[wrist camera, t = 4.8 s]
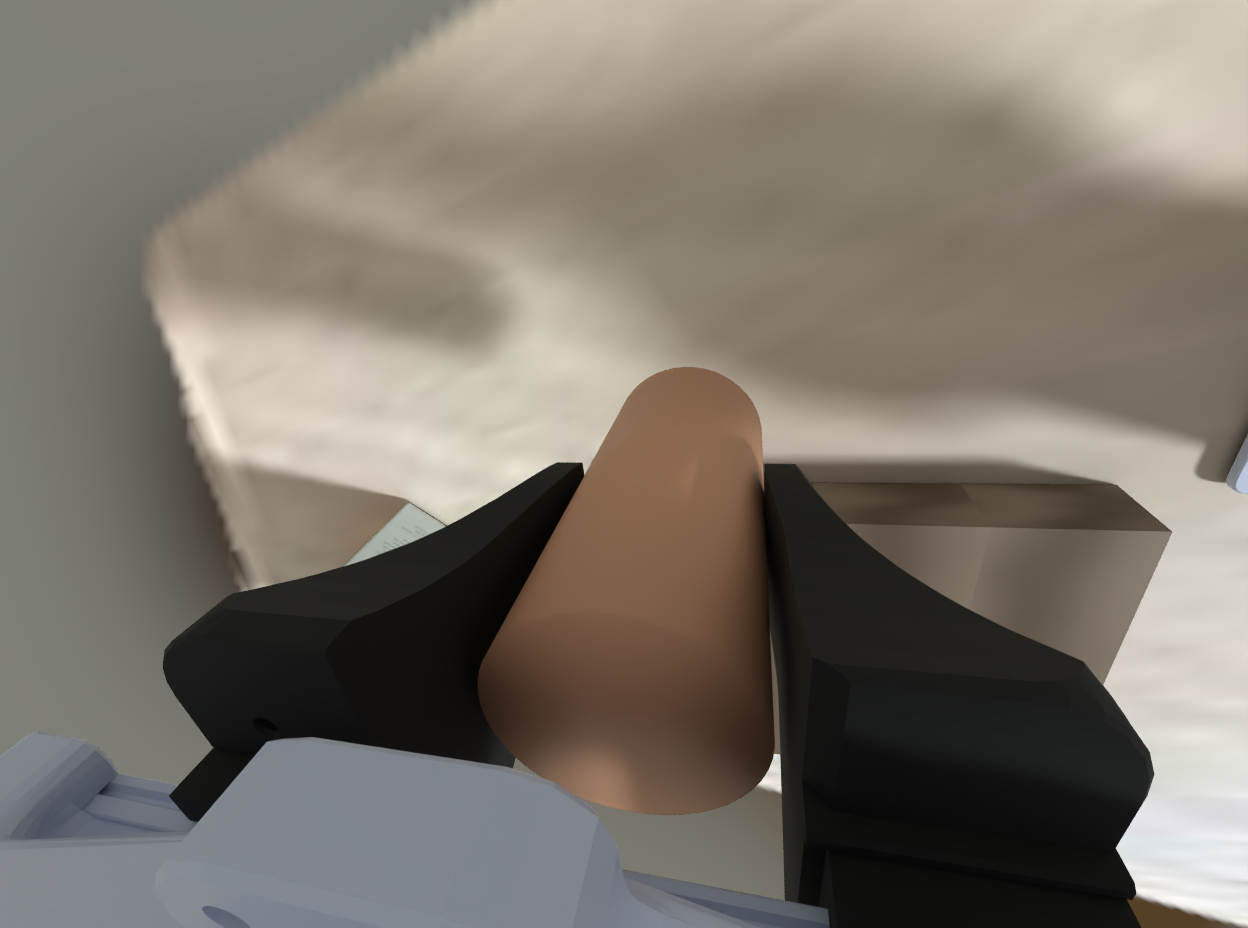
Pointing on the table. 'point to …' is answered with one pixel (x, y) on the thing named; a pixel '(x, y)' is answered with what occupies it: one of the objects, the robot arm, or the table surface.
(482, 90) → the table surface
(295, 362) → the table surface
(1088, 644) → the socket block
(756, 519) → the peg
